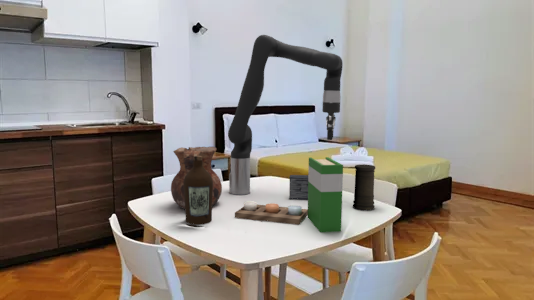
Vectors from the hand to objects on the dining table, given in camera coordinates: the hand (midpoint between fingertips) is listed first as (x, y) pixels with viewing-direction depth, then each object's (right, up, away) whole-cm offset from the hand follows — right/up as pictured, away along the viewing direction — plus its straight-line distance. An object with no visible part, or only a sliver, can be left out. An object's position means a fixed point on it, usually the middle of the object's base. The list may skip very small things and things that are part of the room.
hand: (330, 138), depth 183 cm
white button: (-34, -28, -20) cm, 48 cm away
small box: (-12, -27, +10) cm, 31 cm away
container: (+13, -30, -6) cm, 33 cm away
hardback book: (-7, -33, -31) cm, 46 cm away
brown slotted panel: (-26, -31, -22) cm, 46 cm away
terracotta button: (-26, -28, -22) cm, 44 cm away
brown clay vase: (-57, -29, -5) cm, 64 cm away
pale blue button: (-17, -29, -25) cm, 42 cm away
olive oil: (-53, -32, -29) cm, 68 cm away
